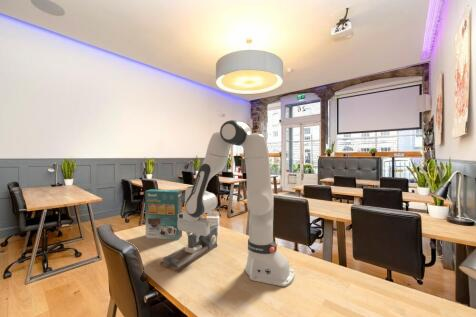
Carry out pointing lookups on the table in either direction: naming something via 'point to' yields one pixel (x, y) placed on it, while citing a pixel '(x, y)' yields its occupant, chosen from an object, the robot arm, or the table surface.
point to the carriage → (192, 244)
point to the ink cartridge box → (213, 219)
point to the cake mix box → (163, 213)
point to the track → (184, 258)
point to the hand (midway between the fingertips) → (193, 240)
